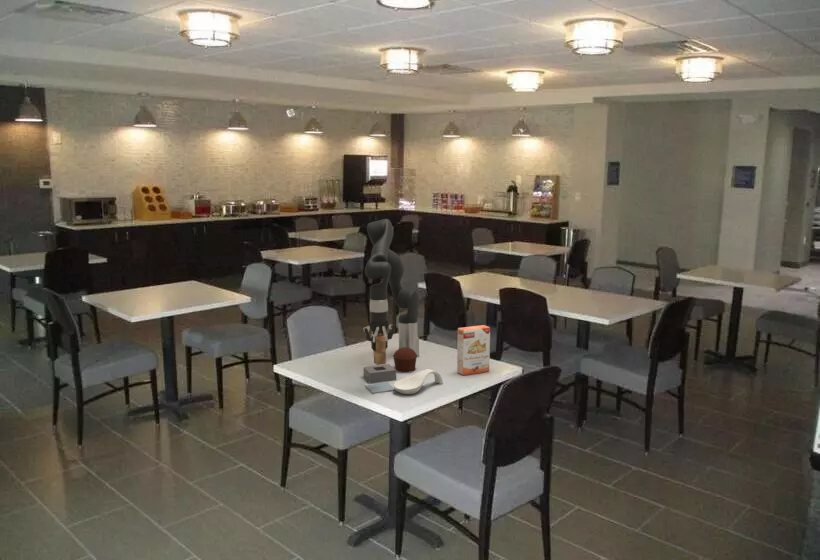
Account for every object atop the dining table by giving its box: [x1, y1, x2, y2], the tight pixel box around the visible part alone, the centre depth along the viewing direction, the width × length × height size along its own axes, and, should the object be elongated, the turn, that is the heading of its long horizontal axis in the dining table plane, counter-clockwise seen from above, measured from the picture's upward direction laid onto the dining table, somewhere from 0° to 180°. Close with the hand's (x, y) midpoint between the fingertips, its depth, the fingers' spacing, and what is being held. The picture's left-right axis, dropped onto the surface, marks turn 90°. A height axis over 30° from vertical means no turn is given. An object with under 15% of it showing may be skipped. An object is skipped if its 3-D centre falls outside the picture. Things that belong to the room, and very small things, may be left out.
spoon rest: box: [393, 368, 444, 395], centre depth 274 cm, size 24×12×7 cm, turn 131°
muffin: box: [392, 347, 418, 373], centre depth 301 cm, size 12×11×10 cm
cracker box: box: [456, 324, 491, 376], centre depth 294 cm, size 14×6×21 cm, turn 115°
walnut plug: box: [373, 334, 387, 365], centre depth 273 cm, size 4×4×12 cm
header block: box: [362, 363, 397, 384], centre depth 288 cm, size 12×10×4 cm
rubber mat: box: [365, 381, 397, 394], centre depth 275 cm, size 10×10×1 cm
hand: (379, 349), depth 273 cm, fingers closed on walnut plug, 4 cm apart
